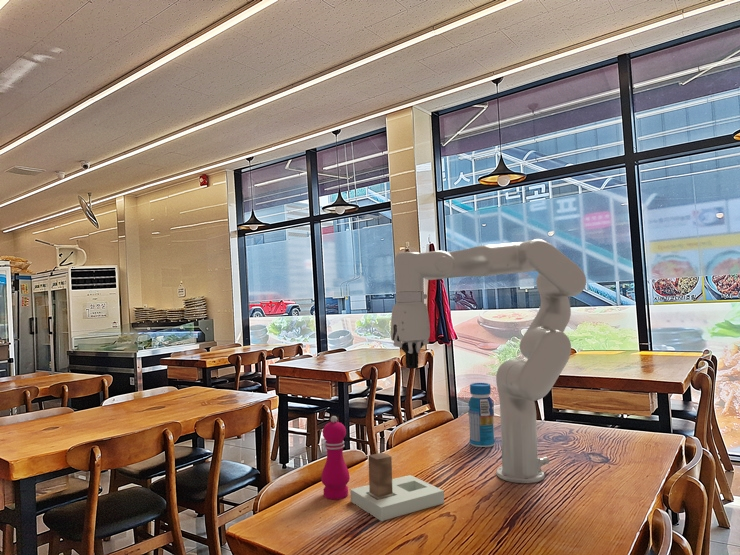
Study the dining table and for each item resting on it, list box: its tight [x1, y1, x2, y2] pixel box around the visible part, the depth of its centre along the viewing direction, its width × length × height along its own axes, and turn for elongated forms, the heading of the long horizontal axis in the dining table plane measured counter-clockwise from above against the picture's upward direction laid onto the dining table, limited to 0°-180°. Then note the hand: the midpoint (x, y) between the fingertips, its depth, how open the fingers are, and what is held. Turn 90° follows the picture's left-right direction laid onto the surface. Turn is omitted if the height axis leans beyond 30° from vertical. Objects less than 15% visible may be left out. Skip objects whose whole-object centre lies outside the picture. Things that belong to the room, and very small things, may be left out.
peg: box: [368, 452, 393, 500], centre depth 129 cm, size 4×4×12 cm
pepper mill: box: [320, 415, 350, 500], centre depth 137 cm, size 7×7×20 cm
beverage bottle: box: [467, 382, 496, 448], centre depth 179 cm, size 8×8×20 cm
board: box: [349, 474, 445, 522], centre depth 131 cm, size 18×14×3 cm
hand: (412, 367), depth 142 cm, fingers closed
